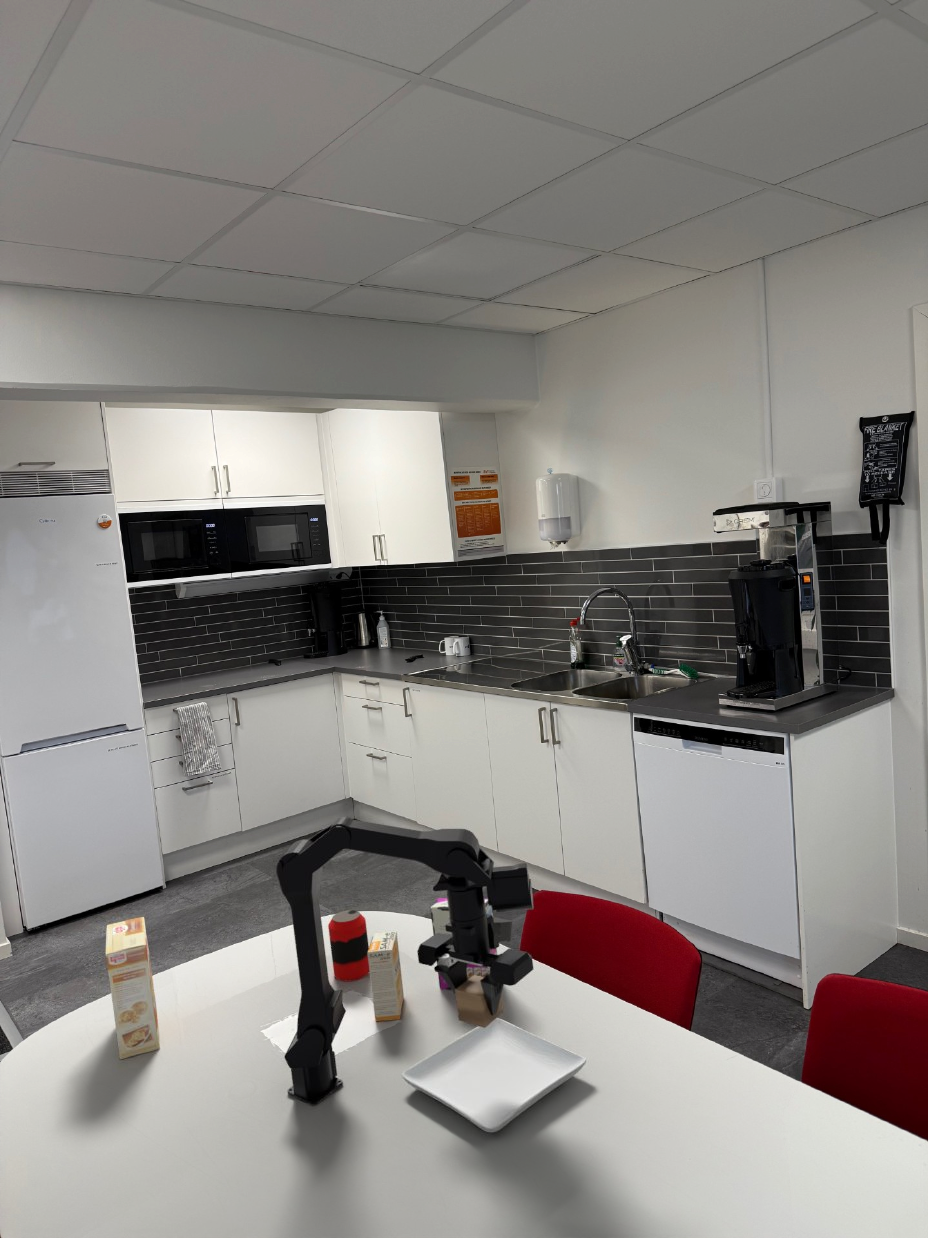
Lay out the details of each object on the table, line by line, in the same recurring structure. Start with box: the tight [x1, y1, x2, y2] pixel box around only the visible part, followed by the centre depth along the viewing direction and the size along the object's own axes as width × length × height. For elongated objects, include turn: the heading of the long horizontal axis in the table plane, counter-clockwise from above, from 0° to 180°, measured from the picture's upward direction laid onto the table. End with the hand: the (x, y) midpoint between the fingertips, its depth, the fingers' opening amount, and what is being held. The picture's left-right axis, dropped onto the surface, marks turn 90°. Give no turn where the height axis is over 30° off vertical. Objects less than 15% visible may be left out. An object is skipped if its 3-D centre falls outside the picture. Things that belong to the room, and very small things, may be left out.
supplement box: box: [367, 931, 404, 1022], centre depth 160 cm, size 8×5×13 cm, turn 179°
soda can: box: [327, 909, 370, 982], centre depth 176 cm, size 8×8×12 cm
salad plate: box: [401, 1017, 587, 1133], centre depth 134 cm, size 21×21×3 cm
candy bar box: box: [430, 897, 498, 991], centre depth 166 cm, size 11×5×16 cm, turn 73°
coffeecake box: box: [105, 916, 161, 1061], centre depth 160 cm, size 15×7×20 cm, turn 22°
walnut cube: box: [454, 975, 504, 1028], centre depth 134 cm, size 5×5×5 cm
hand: (480, 1010), depth 134 cm, fingers closed on walnut cube, 5 cm apart
